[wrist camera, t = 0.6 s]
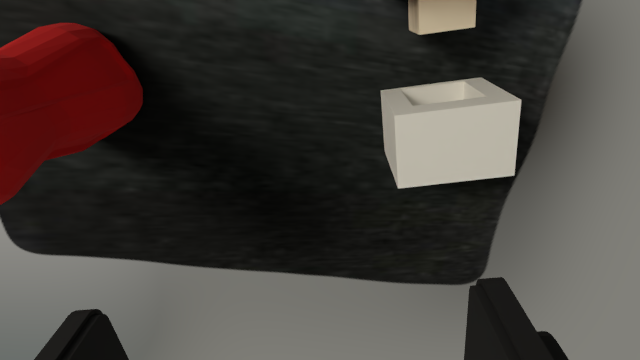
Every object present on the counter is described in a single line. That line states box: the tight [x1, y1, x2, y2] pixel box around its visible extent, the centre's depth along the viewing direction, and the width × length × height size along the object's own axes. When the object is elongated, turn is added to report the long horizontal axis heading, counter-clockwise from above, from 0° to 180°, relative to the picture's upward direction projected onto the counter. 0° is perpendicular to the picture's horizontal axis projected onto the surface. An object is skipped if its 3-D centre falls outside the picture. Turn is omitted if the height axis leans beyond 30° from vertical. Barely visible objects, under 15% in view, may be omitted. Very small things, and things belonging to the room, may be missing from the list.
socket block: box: [381, 78, 521, 188], centre depth 33 cm, size 6×9×8 cm, turn 98°
